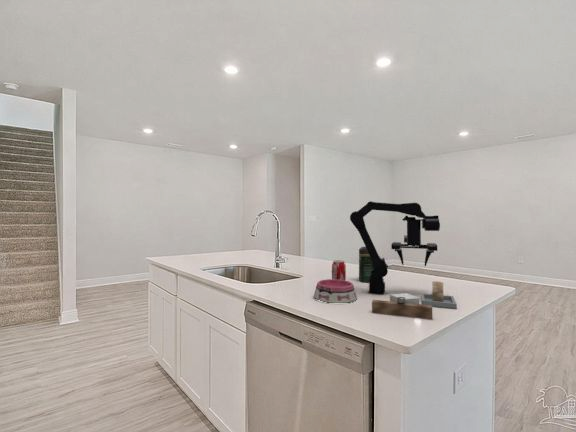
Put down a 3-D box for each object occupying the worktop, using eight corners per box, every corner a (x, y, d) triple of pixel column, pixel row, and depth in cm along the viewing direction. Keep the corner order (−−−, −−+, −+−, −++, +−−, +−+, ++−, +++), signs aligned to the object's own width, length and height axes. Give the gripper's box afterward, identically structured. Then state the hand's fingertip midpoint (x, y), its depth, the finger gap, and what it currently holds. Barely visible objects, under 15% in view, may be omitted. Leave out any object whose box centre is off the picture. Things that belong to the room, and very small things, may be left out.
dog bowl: (365, 297, 133) (364, 282, 133) (342, 307, 119) (342, 289, 119) (329, 291, 145) (329, 276, 145) (305, 299, 132) (305, 283, 132)
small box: (406, 305, 121) (406, 292, 121) (420, 311, 114) (420, 297, 114) (389, 307, 119) (389, 294, 119) (401, 313, 112) (401, 299, 112)
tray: (421, 305, 120) (421, 300, 120) (421, 298, 131) (421, 293, 131) (456, 309, 116) (456, 303, 116) (453, 301, 127) (453, 296, 127)
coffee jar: (375, 283, 161) (375, 247, 161) (360, 282, 162) (360, 247, 162) (372, 279, 171) (372, 245, 171) (358, 278, 172) (357, 245, 172)
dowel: (432, 303, 122) (432, 283, 122) (432, 300, 126) (432, 281, 126) (443, 304, 121) (443, 283, 121) (443, 301, 124) (442, 281, 124)
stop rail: (372, 312, 112) (371, 296, 112) (373, 310, 115) (373, 294, 115) (432, 319, 104) (432, 301, 104) (432, 316, 107) (431, 299, 107)
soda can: (345, 286, 154) (345, 262, 154) (331, 285, 156) (331, 262, 156) (345, 283, 161) (345, 260, 161) (332, 282, 162) (332, 260, 162)
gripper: (435, 230, 141) (435, 264, 141) (393, 229, 148) (393, 262, 148) (437, 231, 131) (437, 268, 131) (391, 230, 138) (391, 265, 138)
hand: (413, 265), depth 137 cm, fingers open, 9 cm apart
